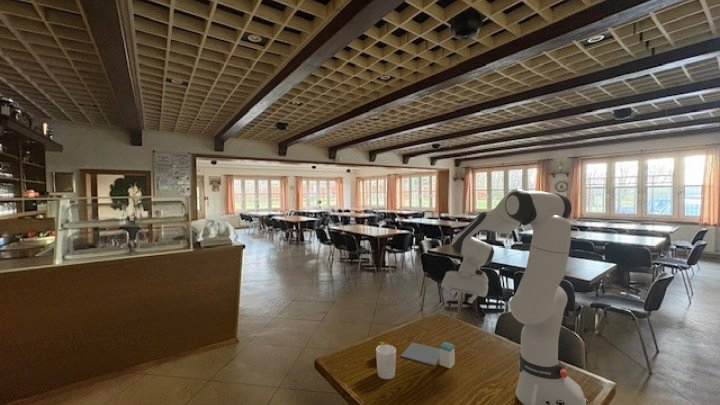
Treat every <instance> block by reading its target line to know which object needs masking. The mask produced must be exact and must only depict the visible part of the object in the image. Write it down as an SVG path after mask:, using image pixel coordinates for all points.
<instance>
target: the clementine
mask: <svg viewBox="0 0 720 405" xmlns="http://www.w3.org/2000/svg"><path fill="white" fill-rule="evenodd" d="M380 345H390V344H389V343H388V342H384V341H380V342H378V343H377V347H378V346H380ZM377 347H376V348H377Z"/></svg>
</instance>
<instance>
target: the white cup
mask: <svg viewBox="0 0 720 405" xmlns="http://www.w3.org/2000/svg"><path fill="white" fill-rule="evenodd" d="M377 346H378V345H377ZM375 354H376V355H375V356H376V369H377V376H378V377H379V378H380V379H382V380H391V379H393V378H394V377H396V376H395V375H396V364H397V363H396V361H397V348H396V347H395V346H393V345H391V344H389V345H380V346H378V347H376V348H375Z"/></svg>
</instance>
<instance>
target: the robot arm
mask: <svg viewBox="0 0 720 405" xmlns="http://www.w3.org/2000/svg"><path fill="white" fill-rule="evenodd" d="M572 207H573V206H572V203H571V201H570V199H569V198H568V197H567V196H565V195H563V194H560V193H556V192H546V191H542V190H525V189H521V188H515V189H511V190H509V192H507V194H506V195H505V196H503V197H502V199H501V200H500V201H499V202H498V203H497V204H496V206H495V207H494V208H493V209H491V210H488V211H482V212H481V213H480V214H478V215H477V216H475V218H473V220H471V222H469V223H468V224H467V225H466V226H465V227H464V228H463V229H462V230H461V231H459V232H458V233H457V234H456V235H455V236H454V237H453V239H452V241H451V245H450V246H451V248H452V250H453V252H454V253H455V254H459V255H462V258H463V259H462V260H463V261H462V262H461V264H460V266H459V269H458V271H457V270H449V271H446V272H445V274H444V277H443V279H442V280H441V285H442V287H443V289H444V290H445V289H446V290H447V292H448V293H447V298H448V299H453V296H454V295H453V294H452V292H453V291H455V292H459V293H463V294H469V295H472V296H471V297H468V299H467V303H469V304H473V302H474V300H476V299H477V298H478V297H483V298H485V297H486V296H487V295H488V291H489V285H488V284H489V278H488V276H487V273H486V272H485V271H482V270H481V267H484V266H487V265H490V264H491V263H492V261H493V258H494V254H495V250H494V247H493V245H492V244H490V243H487V242H485V241H483V240H480V239H479V238H477V237H474V235H475V234H476V233H477V232H479V231H490V232H491V231H492V232H497V233H501V234H502V233H511V232H513V231H515V230H516V229H517V228H519V226H521V225H522V226H528V225H530V226H531V228H532V236H531V237H532V238H531V243H530V246H529V253H528V258H527V263H526V267H525V270H524V273H523V275H522V277H521V279H520V282H519V284H518V286H517V288H516V289H517V290H516V292H515V294H514V295H513V296H512V297H511V299H510V302H509V309H510V313H511V315H512V316H513V317H514V319H515V320H516V321H517V322H519V323H521V324H523V327H522V329H521V330H520V331H521V332H520V353H519V356H518V370H519V378H518V381H517V385H516V389H515V391H514V393H515V397H516V398H517V400H519V401H520V403H521V404H523V405H586V400H587V398H586V397H585V394H584V392H583V389H582V388H581V386H580V384H578V383H577V382H576V381H574V380H573V379H572V378H571V377H569V375H568V371H567V370H566V367H565V366H566V365H565V364H564V362H563V361H559V359H558V358H559V339H560V333H561V332H560V331H561V328H562V322H563V318H564V312H565V308H566V306H567V305H568V304H567V303H568V295H567V293H566V291H565V290H564V288H563V287H562V286H560V284H561V282H562V280H563V278H564V277H565V275H566V271H567V270H566V269H567V266H568V259H569V255H570V248H571V239H572V230H571V229H572V228H571V227H572V226H571V223H570V221H569V220H568V218H569V217H570V216H571V213H572V209H573V208H572Z"/></svg>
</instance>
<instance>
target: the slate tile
mask: <svg viewBox="0 0 720 405" xmlns="http://www.w3.org/2000/svg"><path fill="white" fill-rule="evenodd" d="M400 358H403V359H406V360H407V359H408V360H411V361H414V362H417V363H422V364H426V365H429V366H433V367H436V365H437V364H438V362H439V361H440V348H438V347H433V346H430V345H425V344H422V343H416V342H412V341H411V343H410V344H409V346H407V347H406V349H405V350H404V351H403V352H402V354H400Z"/></svg>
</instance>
